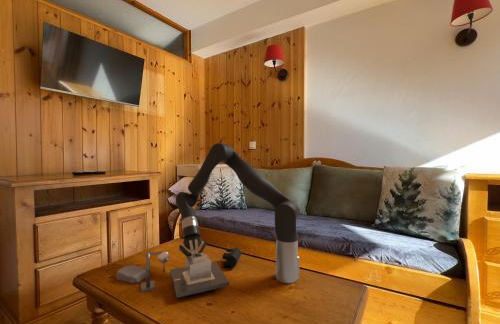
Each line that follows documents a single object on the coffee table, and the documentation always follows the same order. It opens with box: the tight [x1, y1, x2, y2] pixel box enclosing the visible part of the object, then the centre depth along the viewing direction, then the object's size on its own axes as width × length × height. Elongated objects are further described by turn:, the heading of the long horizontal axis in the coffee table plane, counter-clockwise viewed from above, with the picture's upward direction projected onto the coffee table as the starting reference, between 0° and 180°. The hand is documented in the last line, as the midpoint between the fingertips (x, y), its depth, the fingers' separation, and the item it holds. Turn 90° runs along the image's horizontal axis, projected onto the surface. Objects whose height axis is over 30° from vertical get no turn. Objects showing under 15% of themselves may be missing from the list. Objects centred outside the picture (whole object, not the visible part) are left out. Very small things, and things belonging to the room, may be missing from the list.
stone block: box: [115, 264, 146, 285], centre depth 106 cm, size 12×5×10 cm
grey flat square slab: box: [169, 261, 230, 299], centre depth 101 cm, size 20×20×2 cm
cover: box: [185, 252, 212, 283], centre depth 100 cm, size 8×8×9 cm
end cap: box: [221, 247, 242, 270], centre depth 119 cm, size 10×7×7 cm
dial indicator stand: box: [140, 250, 171, 293], centre depth 98 cm, size 11×5×14 cm, turn 115°
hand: (196, 264), depth 105 cm, fingers closed
